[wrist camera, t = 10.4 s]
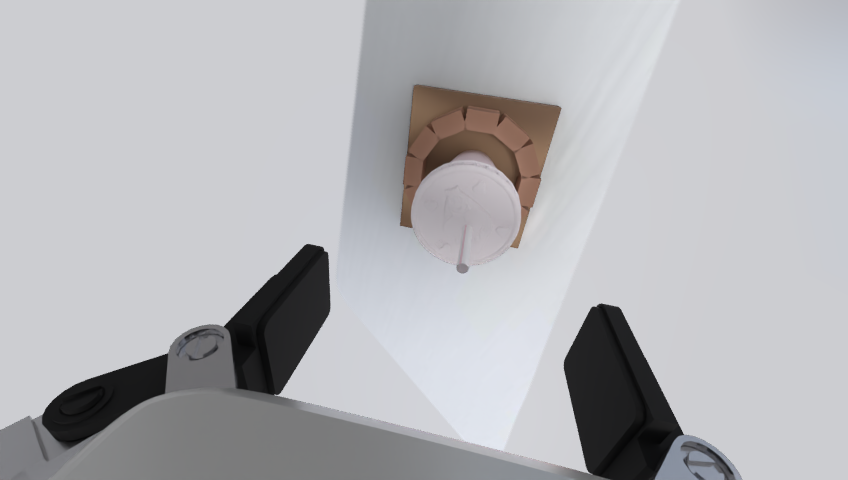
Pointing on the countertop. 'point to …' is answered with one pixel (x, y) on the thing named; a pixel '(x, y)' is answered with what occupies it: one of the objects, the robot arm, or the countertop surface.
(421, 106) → the ring board
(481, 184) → the smoothie
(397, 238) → the countertop surface
